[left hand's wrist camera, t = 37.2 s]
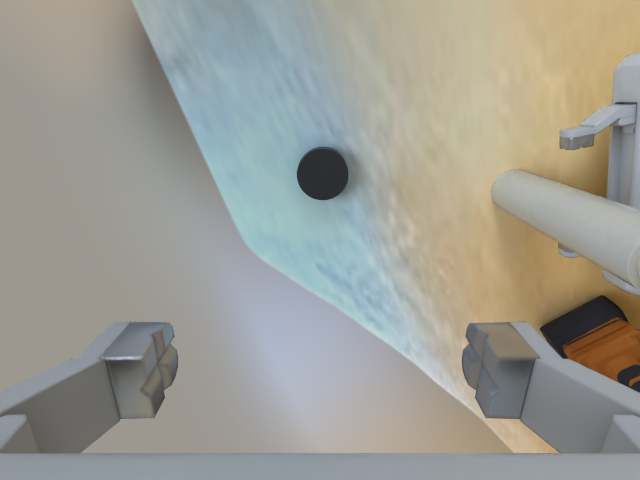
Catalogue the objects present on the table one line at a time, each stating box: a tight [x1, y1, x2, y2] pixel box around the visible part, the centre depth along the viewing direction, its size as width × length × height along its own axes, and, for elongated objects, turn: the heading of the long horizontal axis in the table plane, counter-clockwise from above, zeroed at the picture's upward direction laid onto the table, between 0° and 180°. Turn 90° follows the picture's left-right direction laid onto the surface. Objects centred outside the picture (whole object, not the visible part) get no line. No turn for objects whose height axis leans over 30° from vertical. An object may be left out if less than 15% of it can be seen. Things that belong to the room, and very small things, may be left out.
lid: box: [297, 147, 348, 200], centre depth 36 cm, size 5×5×2 cm
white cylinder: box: [492, 169, 640, 290], centre depth 28 cm, size 4×4×19 cm
